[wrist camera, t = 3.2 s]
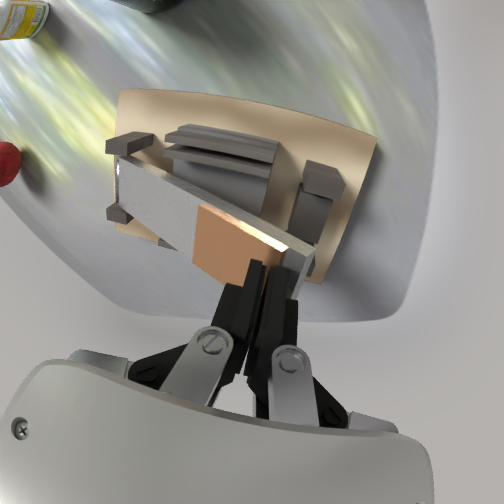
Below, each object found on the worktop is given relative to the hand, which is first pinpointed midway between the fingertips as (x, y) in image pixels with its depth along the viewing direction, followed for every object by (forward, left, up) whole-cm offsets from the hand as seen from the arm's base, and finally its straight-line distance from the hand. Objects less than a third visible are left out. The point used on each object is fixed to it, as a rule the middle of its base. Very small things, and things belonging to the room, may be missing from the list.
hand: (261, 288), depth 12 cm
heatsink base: (0, -5, -13) cm, 14 cm away
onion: (+1, -34, -13) cm, 37 cm away
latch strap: (0, -5, -5) cm, 7 cm away
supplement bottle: (-18, -33, -13) cm, 40 cm away
